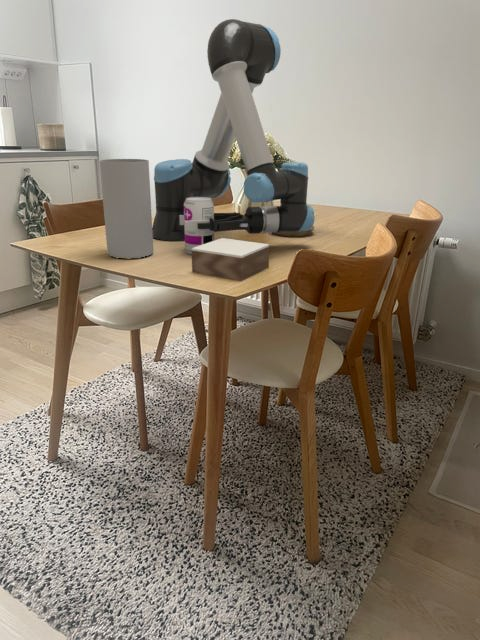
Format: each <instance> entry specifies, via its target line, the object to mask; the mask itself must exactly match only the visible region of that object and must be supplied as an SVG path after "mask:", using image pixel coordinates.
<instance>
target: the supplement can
mask: <svg viewBox="0 0 480 640" xmlns="http://www.w3.org/2000/svg"><path fill="white" fill-rule="evenodd" d="M214 213H215V204H214V202H213V199H211V198H208V197H189V198H186V201H185V203H184V231H185V221H191V220H209V223H210V218H212V219H213V220H214ZM212 241H215V232H214V231H211V230H210V229H209V230H205V231H185V240H184V250H185V252H186V253H187V254H189V255H191V256H192V248H194V247H197V246H200V245H203V244H206V243H209V242H212Z"/></svg>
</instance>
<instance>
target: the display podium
mask: <svg viewBox="0 0 480 640" xmlns="http://www.w3.org/2000/svg"><path fill="white" fill-rule="evenodd" d="M269 267H270V243H262V242H254V241H247V240H239V239H232V238H225V237H221V238H218V239H214V241H212V242H209V243H206V244H203V245H200V246H197V247H194V248H192V255H191V272H192V273H193V274H194V273H195V274H200V275H207V276H211V277H216V278H222V279H223V278H224V279H227V280H234V281H239V282H243V281H244V280H246V279H248V278H251V277H252V276H254V275H256V274H259V273H260V272H262V271H264V270H266V269H268V268H269Z"/></svg>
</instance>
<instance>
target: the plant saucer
mask: <svg viewBox="0 0 480 640" xmlns="http://www.w3.org/2000/svg"><path fill="white" fill-rule="evenodd" d="M314 230H315V225H313V227H312V228H311V229H310V230H308V231H299V232H274V233H275V234H276V235H279V236H282V237H290V238H291V237H295V238H296V237H299V238H300V237H306V236H308V235H309V234H311V233H312V232H313V231H314Z"/></svg>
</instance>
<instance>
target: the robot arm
mask: <svg viewBox="0 0 480 640" xmlns="http://www.w3.org/2000/svg"><path fill="white" fill-rule="evenodd" d="M281 50H282V49H281V44H280V39H279V37H278V35H277V34H276V32H275V31H274V30H273V29H271V28H270V27H267V26H265V25H263V24H259V23H253V22H248V21H242V20H241V19H240V20H239V19H236V18H235V19H234V18H232V19H231V18H230V19H225V20H223V21H221V22H220V23H218V24H217V25H216V26H215V27H214V29H213V30H212V32H211V34H210V36H209V39H208V42H207V62H208V67H209V71H210V74H211V77H212V78H211V79H213V80H214V81H215V82H217V83H218V86H219V89H220V96H219V99H218V100H217V101H218V102H217V104H216V107H215V110H214V113H213V116H212V118H211V122H210V125H209V128H208V130H207V134H206V137H205V140H204V143H203V146H202V148H201V149H200V150H197V151H196V152H195V154H194V157H193V159H192V160H190V159H184V158H178V159H168V160H164V161H161V162H157V164H156V165H155V166H154V168H153V170H154V173H153V174H154V175H153V181H154V195H155V196H154V197H155V216H154V220H153V222H152V234H153V239H155V238H156V239H155V240H159V239H160V240H159V241H168V242H171V241H175V242H176V241H178V242H179V241H185V231H205V230H209V229H210V230H211V231H214V233H217V232H228V231H243V230H244V231H246V232H247V233H248V234H249V235H253V234H261V233H262V234H268V235H272V233H275V232H299V231H308V230H310V229H311V228H312V227H313V226H314V223H315V220H316V219H315V211H314V207H312V206H311V205H309V204H307V199H308V187H309V186H308V184H309V166H308V164H307V163H305V162H300V161H299V162H296V161H295V162H293V161H292V162H291V161H290V162H284V163H282V165H281V170H276V166H275V164H274V161H273V158H272V157H273V156H272V154H271V150H270V147H269V143H268V141H267V138H266V135H265V132H264V129H263V125H262V122H261V119H260V115H259V113H258V109H257V106H256V102H255V99H254V96H253V93H254V89H255V88H257V87H259V86H261V85H262V84H263V82H264V79H265V76H266V74H270V73H271V72H273V71H274V70H275V69H276V67H277V66H278V65H279V62H280V59H281V54H282V53H281ZM235 140H236V143H237V145H238V148H239V153H240V155H241V159H242V161H243V164H244V168H245V170H246V174H247V176H246V177H245V179H244V182H243V193H244V195H245V197H246V198H247V200H249V201H250V202H252V203H268V202H272V201H277V200H279V202H280V205H270V206H269V205H265V206H263V205H262V206H261V207H260V206H248V207H247V208H246V210H245V213H244V214H242V213H241V212H235V211H234V212H214V220H213V219H212V218H210V223H209V220H191V221H185V231H184V203H185V201H186V198H189V197H208V198H211V200H213V199H215V198H219V197H221V196H223V195H225V193H226V192H227V191H228V190H229V187H230V185H231V179H232V178H231V172H230V163H229V161H228V158H229V156H230V153H231V150H232V147H233V144H234V142H235Z"/></svg>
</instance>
